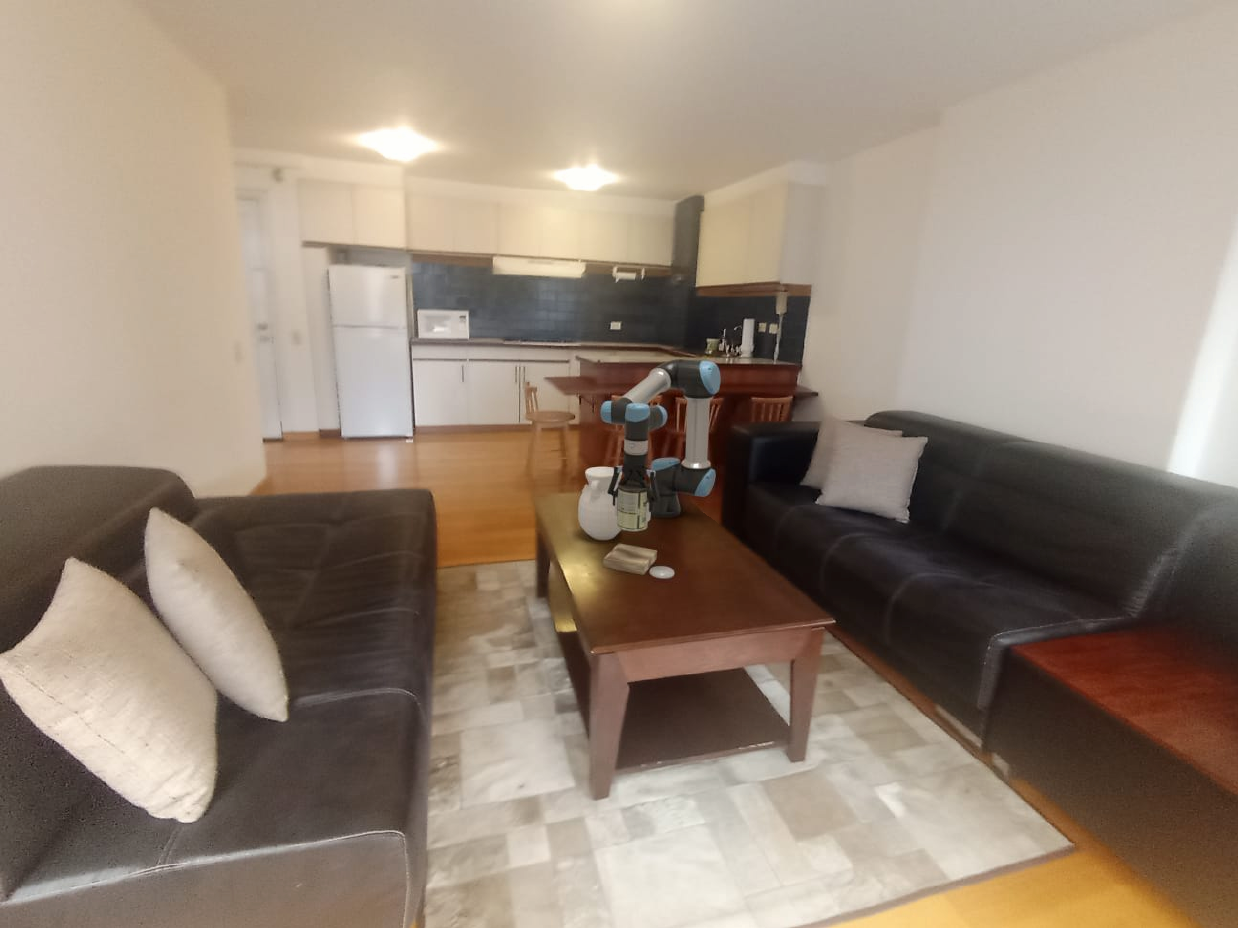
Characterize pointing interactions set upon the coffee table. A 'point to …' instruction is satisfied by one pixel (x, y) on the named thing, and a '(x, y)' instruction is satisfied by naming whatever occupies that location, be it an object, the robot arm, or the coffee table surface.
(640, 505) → the coffee can
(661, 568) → the coaster
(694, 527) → the coffee table surface
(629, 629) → the coffee table surface
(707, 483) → the robot arm
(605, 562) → the folded beige cloth
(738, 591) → the coffee table surface
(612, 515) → the pitcher
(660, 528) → the coffee table surface
